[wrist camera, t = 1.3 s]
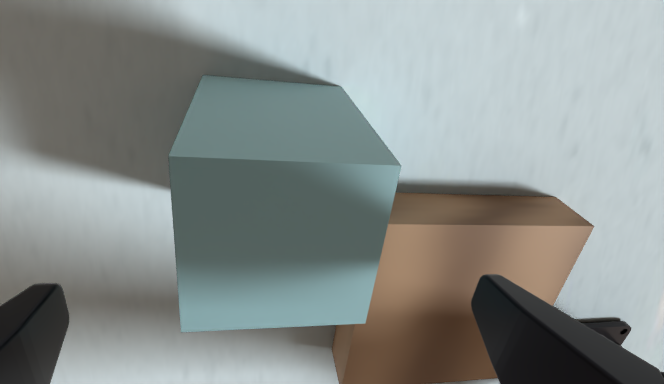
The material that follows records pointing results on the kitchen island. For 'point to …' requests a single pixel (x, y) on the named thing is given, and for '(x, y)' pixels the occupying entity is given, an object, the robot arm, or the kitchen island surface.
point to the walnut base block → (452, 282)
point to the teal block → (277, 206)
